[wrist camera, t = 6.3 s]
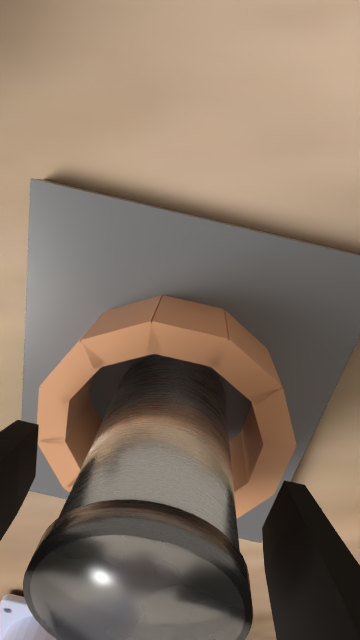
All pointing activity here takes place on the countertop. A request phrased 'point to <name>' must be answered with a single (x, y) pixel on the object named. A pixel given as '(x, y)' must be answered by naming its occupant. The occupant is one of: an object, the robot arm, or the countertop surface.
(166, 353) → the duct flange
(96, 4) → the countertop surface
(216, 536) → the silver metal cylinder
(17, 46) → the countertop surface
